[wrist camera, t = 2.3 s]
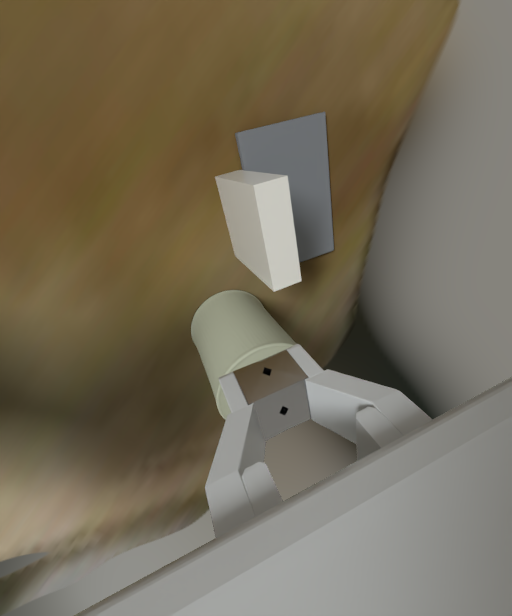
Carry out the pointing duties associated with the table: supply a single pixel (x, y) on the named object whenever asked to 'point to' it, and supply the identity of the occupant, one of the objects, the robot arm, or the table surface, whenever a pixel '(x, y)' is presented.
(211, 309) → the pale green cylinder
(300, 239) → the mat
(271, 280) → the white box
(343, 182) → the table surface
